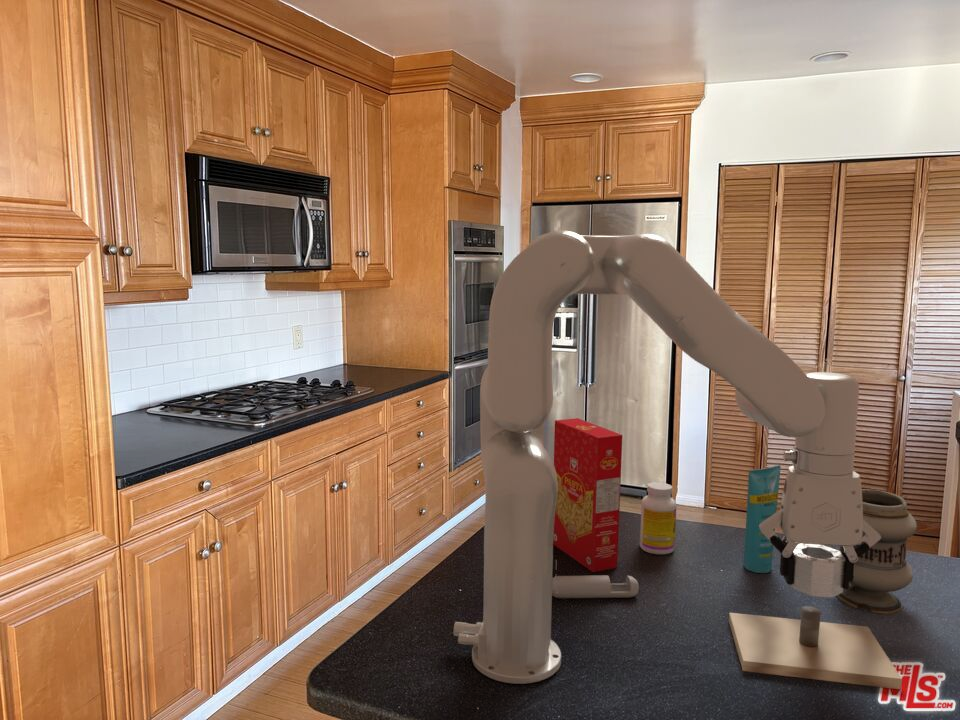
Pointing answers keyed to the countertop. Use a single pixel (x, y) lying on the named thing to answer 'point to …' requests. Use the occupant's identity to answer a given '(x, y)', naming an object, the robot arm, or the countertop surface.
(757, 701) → the countertop surface
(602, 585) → the torpedo
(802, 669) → the base
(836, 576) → the steel hub
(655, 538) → the supplement bottle
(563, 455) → the food packaging
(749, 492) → the tube
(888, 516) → the apothecary jar
